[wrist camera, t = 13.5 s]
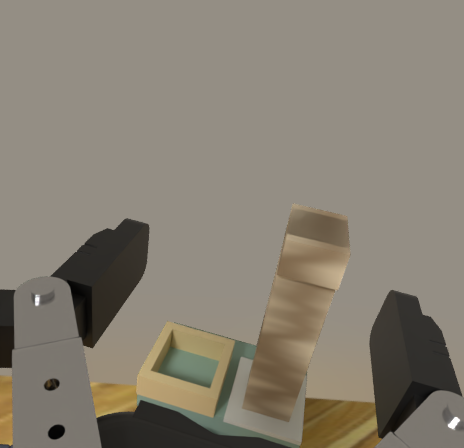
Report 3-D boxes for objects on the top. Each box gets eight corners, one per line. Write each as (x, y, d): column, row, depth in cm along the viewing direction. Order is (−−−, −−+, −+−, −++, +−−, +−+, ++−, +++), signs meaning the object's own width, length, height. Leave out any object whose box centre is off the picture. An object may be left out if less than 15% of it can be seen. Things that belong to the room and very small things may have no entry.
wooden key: (240, 416, 29) (285, 239, 22) (251, 366, 33) (292, 203, 26) (288, 430, 29) (350, 255, 22) (293, 377, 33) (347, 216, 26)
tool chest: (122, 495, 37) (128, 373, 29) (156, 418, 44) (168, 303, 36) (269, 546, 35) (317, 431, 27) (281, 457, 42) (321, 346, 34)
